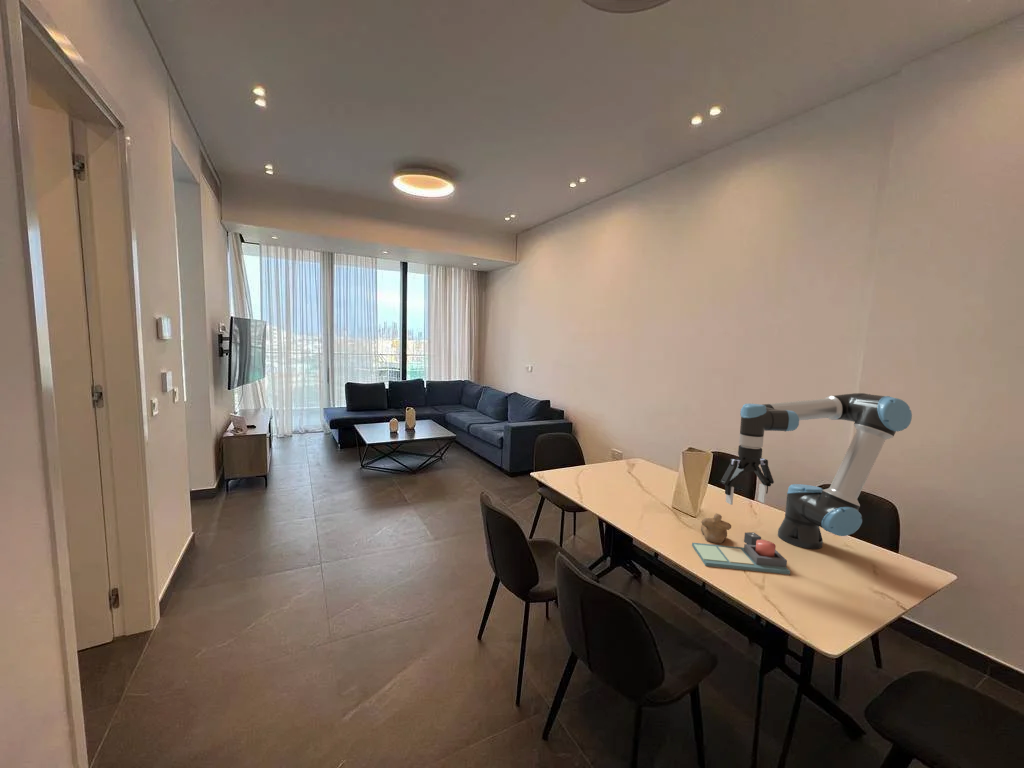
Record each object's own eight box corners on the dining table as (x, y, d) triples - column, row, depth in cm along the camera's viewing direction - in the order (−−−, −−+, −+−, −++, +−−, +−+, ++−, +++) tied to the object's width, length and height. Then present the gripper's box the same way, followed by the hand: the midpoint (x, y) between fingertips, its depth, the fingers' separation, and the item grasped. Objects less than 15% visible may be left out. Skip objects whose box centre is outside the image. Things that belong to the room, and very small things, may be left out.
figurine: (726, 536, 170) (733, 507, 164) (727, 552, 162) (733, 522, 156) (698, 529, 174) (703, 500, 168) (697, 544, 166) (703, 515, 161)
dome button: (769, 550, 152) (770, 540, 152) (777, 558, 146) (779, 548, 146) (752, 549, 153) (753, 538, 153) (760, 557, 147) (761, 546, 147)
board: (768, 552, 157) (769, 543, 157) (789, 574, 142) (791, 564, 142) (691, 545, 160) (692, 536, 160) (705, 565, 145) (706, 555, 145)
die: (752, 541, 166) (753, 531, 166) (760, 546, 162) (761, 536, 162) (743, 542, 165) (745, 532, 165) (751, 546, 161) (752, 536, 161)
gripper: (772, 443, 155) (767, 497, 157) (713, 444, 151) (708, 499, 153) (788, 448, 148) (783, 505, 150) (726, 449, 144) (722, 507, 146)
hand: (745, 502), depth 152 cm, fingers open, 13 cm apart
